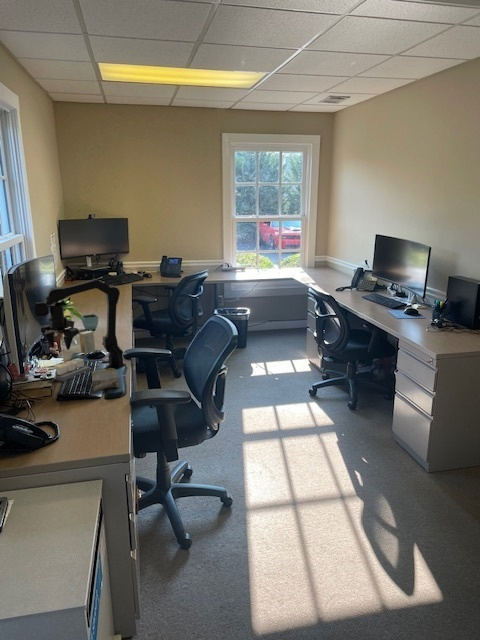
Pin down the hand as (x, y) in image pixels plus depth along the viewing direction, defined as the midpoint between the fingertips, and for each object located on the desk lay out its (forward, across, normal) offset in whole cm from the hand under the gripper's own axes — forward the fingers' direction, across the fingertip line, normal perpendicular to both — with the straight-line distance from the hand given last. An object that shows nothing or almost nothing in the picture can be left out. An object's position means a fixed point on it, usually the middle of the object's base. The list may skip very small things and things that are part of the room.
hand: (60, 348), depth 213 cm
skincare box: (+13, +10, -30) cm, 34 cm away
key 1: (+10, -4, -6) cm, 12 cm away
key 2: (+10, -3, -1) cm, 11 cm away
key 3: (+10, -3, +4) cm, 11 cm away
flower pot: (+13, +46, -73) cm, 87 cm away
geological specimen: (+13, -27, +4) cm, 30 cm away
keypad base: (+12, -3, -1) cm, 13 cm away
